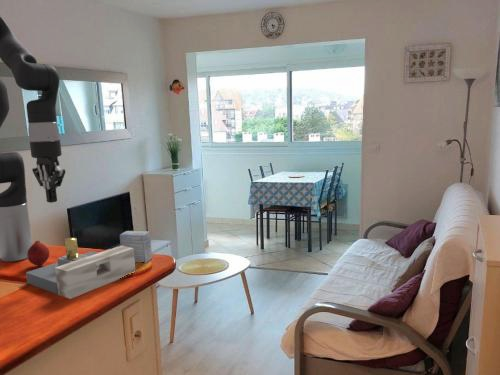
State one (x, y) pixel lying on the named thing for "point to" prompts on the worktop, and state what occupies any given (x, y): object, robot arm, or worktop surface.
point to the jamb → (94, 271)
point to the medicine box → (138, 244)
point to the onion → (38, 253)
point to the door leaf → (50, 274)
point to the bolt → (71, 250)
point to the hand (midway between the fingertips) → (52, 201)
